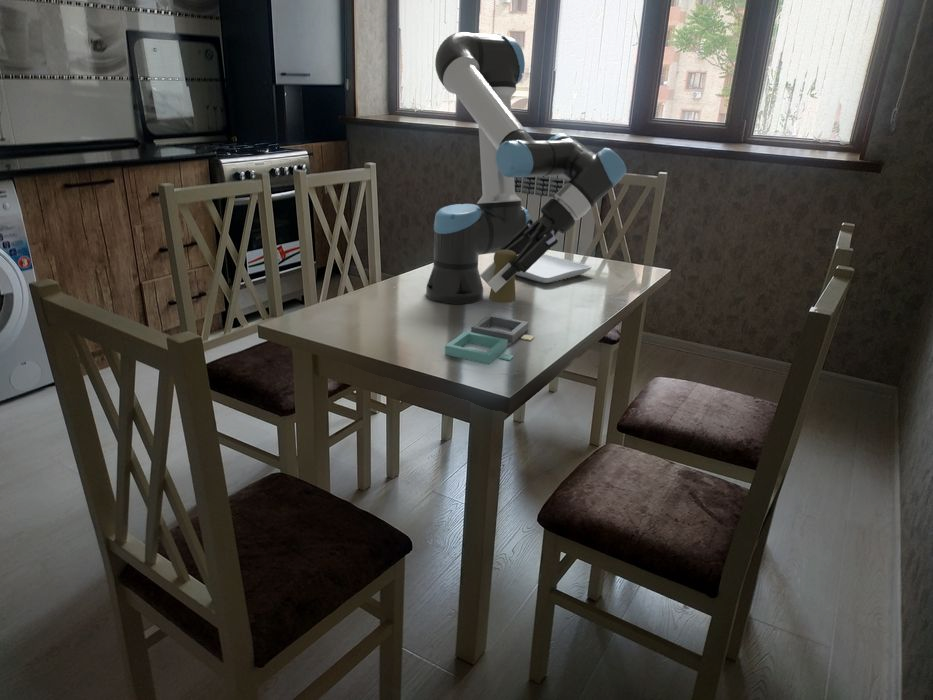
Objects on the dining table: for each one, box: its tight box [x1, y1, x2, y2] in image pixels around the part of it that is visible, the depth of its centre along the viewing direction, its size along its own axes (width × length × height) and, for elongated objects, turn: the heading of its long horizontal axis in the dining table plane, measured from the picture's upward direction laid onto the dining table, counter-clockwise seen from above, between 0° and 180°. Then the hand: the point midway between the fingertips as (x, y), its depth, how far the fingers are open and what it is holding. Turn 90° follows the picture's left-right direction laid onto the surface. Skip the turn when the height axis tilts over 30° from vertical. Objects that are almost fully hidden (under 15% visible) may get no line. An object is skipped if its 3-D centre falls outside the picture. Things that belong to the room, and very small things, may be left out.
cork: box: [488, 250, 518, 304], centre depth 147 cm, size 6×6×11 cm
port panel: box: [444, 314, 536, 365], centre depth 145 cm, size 13×23×2 cm, turn 155°
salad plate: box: [515, 253, 592, 284], centre depth 200 cm, size 21×21×3 cm
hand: (487, 283), depth 146 cm, fingers closed on cork, 5 cm apart
